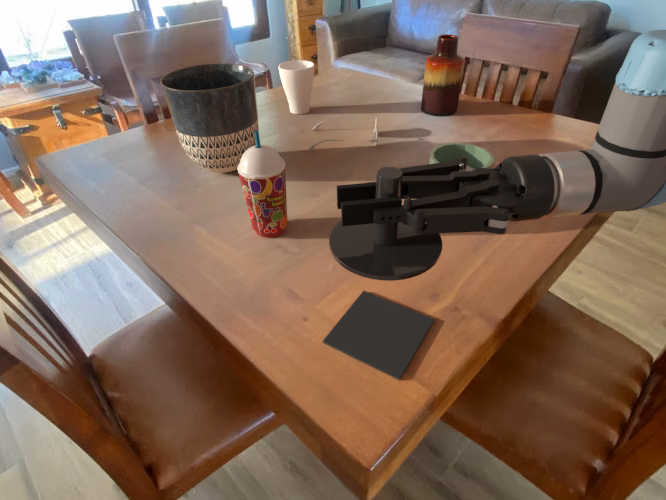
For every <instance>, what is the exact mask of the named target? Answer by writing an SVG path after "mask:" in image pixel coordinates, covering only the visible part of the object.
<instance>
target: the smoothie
mask: <svg viewBox="0 0 666 500" xmlns="http://www.w3.org/2000/svg"><path fill="white" fill-rule="evenodd" d="M254 132H255V139H256V145H254V146H252V147H250V148H248V149H247V150H246V151H245V152H244V153H243V155H242V157H241V160H240V163H239V164H238V167H237V170H236V171H237V173H238V177H239V180H240V185H241V189H242V192H243V196H244V201H245V204H246V208H247V212H248V216H249V220H250V224H251V227H252V229H253V230H254V231H255V233H256V235H258V236H260V237H262V238H276V237H278V236H280V235H282V234H283V233H284V232H285V231H286V227H287V226H288V205H287V179H286V177H287V175H286V162H285V160H284V159H283V158H282V157H281V155H280V153H279V152H278V151H277V150H276V149H274V147H272V146H270V145H266V144H261V140H260V131H259V132H258V130H255V131H254Z"/></svg>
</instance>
